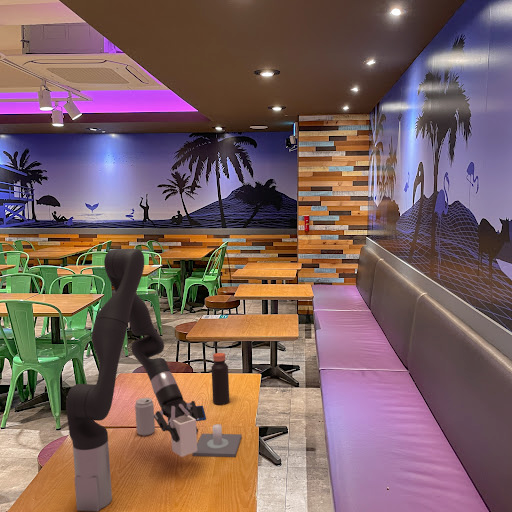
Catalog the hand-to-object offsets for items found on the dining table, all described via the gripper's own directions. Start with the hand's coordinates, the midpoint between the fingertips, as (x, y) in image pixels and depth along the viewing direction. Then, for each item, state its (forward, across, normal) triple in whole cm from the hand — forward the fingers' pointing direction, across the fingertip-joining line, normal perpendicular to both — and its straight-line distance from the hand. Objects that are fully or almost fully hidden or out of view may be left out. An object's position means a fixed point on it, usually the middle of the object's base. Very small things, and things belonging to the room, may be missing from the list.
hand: (187, 437), depth 156 cm
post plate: (+2, +16, +13) cm, 20 cm away
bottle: (-20, +39, +34) cm, 56 cm away
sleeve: (+2, 0, +5) cm, 5 cm away
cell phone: (-18, +24, +33) cm, 45 cm away
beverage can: (-16, +3, +31) cm, 35 cm away
